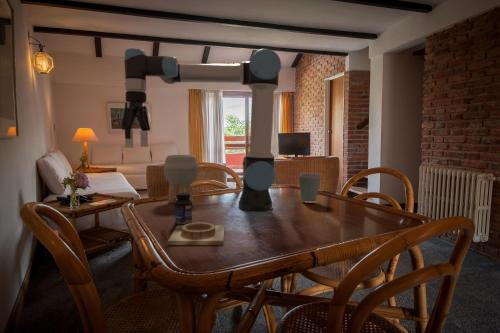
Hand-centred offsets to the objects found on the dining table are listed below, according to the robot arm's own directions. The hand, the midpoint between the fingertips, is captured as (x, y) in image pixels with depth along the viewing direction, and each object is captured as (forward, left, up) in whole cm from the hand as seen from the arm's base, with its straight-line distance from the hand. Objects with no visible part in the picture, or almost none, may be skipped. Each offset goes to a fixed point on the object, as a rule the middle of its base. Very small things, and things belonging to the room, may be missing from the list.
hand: (137, 147), depth 122 cm
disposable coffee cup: (-75, -24, -27) cm, 83 cm away
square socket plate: (-27, +27, -27) cm, 46 cm away
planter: (-13, -26, -27) cm, 40 cm away
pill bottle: (-20, +13, -27) cm, 36 cm away
